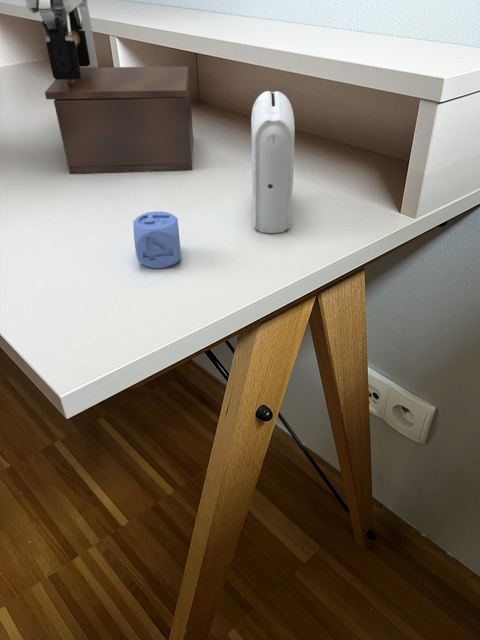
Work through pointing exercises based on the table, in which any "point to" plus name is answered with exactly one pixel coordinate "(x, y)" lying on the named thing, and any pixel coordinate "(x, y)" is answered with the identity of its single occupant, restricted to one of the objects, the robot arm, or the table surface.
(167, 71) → the lid
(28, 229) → the table surface
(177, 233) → the decorative dice
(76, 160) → the storage box
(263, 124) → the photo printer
